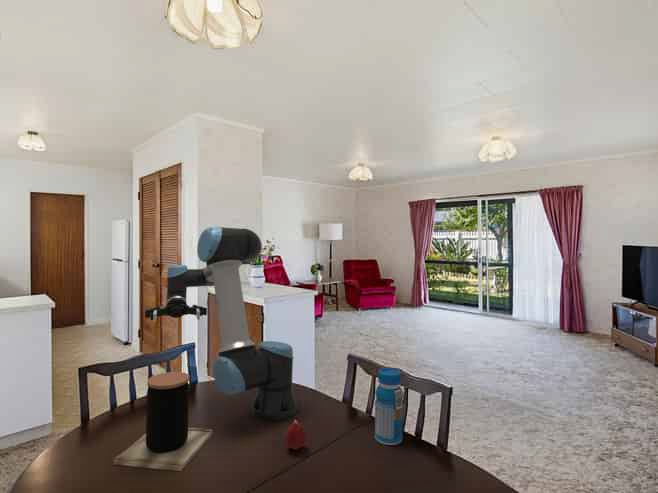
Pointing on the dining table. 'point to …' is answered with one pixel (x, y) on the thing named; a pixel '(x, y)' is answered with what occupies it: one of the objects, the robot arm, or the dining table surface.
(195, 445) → the board
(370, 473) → the dining table surface
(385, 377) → the beverage bottle
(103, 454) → the dining table surface
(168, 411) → the coffee jar
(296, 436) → the onion
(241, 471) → the dining table surface
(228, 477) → the dining table surface
